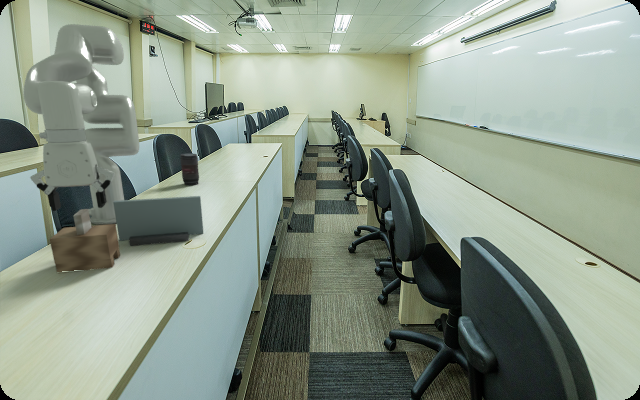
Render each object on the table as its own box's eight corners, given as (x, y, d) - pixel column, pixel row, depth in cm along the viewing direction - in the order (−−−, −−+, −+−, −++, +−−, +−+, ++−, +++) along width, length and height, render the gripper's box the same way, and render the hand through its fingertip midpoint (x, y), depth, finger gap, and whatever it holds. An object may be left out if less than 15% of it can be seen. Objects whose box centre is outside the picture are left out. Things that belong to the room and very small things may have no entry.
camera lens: (185, 186, 173) (182, 156, 169) (181, 183, 179) (178, 154, 175) (201, 184, 177) (199, 154, 173) (197, 181, 183) (194, 152, 179)
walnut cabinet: (56, 273, 86) (45, 219, 82) (70, 259, 93) (59, 209, 89) (112, 268, 89) (103, 215, 85) (120, 255, 96) (112, 205, 92)
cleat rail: (129, 246, 102) (128, 239, 101) (131, 243, 104) (130, 236, 103) (188, 240, 106) (187, 234, 105) (189, 238, 108) (188, 231, 107)
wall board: (119, 240, 106) (113, 202, 102) (120, 238, 107) (114, 200, 104) (203, 233, 112) (200, 197, 108) (203, 231, 113) (200, 195, 110)
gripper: (14, 139, 76) (30, 215, 81) (103, 137, 81) (114, 209, 85) (31, 136, 83) (45, 206, 88) (113, 135, 88) (122, 201, 92)
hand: (79, 207), depth 86 cm, fingers open, 9 cm apart
